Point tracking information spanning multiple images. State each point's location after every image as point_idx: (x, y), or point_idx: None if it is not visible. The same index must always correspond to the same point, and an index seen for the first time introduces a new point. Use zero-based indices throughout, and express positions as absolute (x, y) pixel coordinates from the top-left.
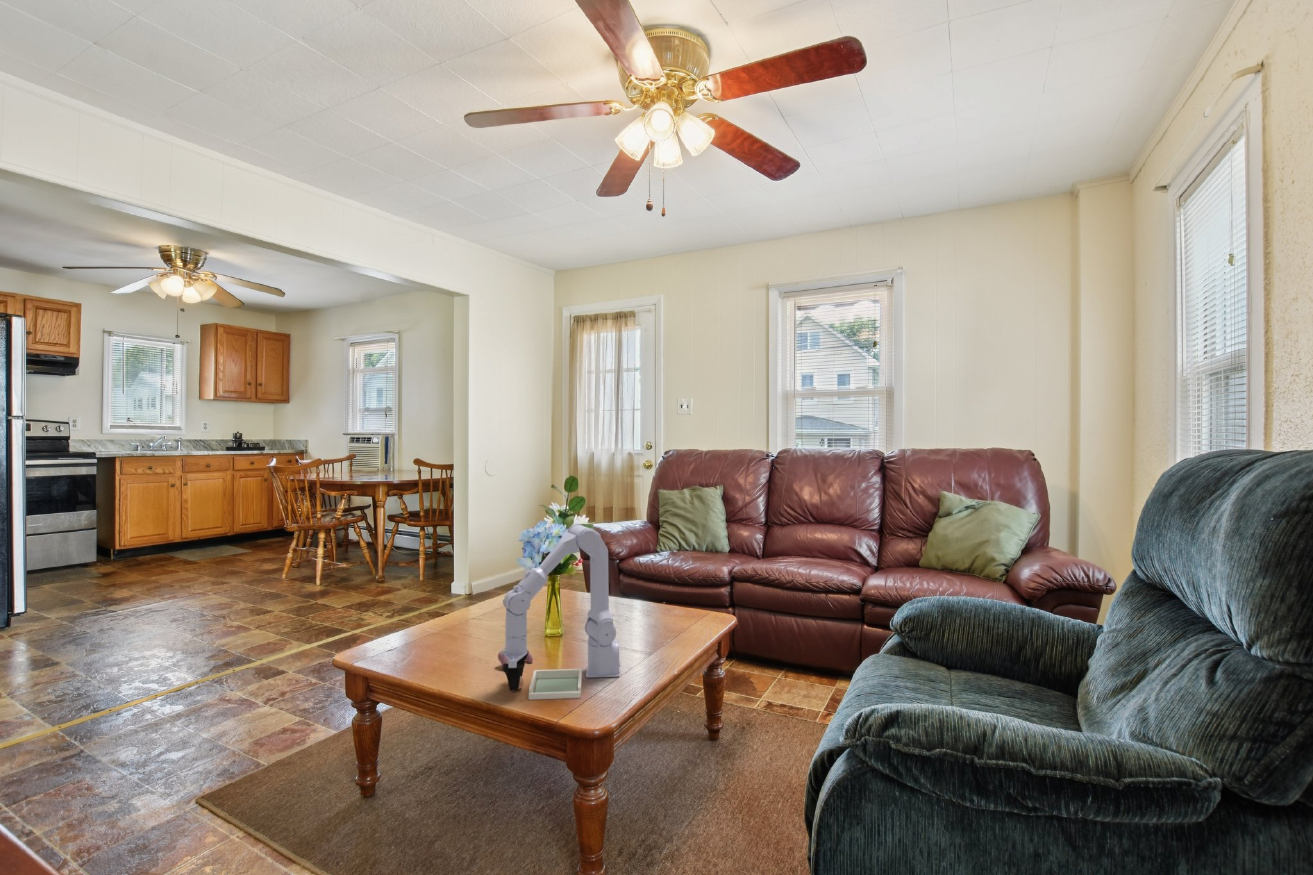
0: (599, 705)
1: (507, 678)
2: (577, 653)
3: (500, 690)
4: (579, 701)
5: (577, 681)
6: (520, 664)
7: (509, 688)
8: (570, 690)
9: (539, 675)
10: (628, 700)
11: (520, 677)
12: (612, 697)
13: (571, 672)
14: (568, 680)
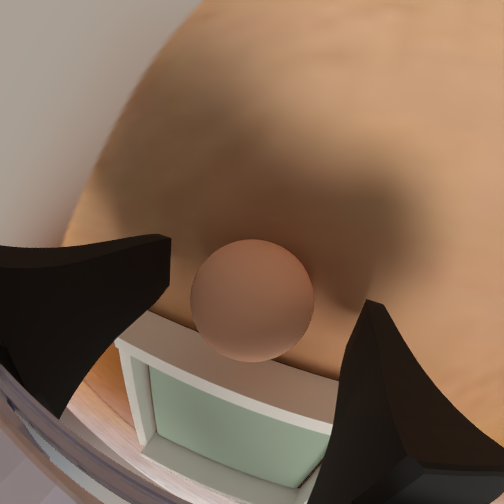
0: (114, 430)
1: (70, 248)
2: (500, 499)
3: (282, 166)
4: (129, 418)
5: (265, 479)
6: (339, 433)
7: (147, 235)
8: (192, 441)
9: None
10: (142, 469)
11: (216, 349)
12: (155, 465)
13: (300, 499)
14: (285, 471)
